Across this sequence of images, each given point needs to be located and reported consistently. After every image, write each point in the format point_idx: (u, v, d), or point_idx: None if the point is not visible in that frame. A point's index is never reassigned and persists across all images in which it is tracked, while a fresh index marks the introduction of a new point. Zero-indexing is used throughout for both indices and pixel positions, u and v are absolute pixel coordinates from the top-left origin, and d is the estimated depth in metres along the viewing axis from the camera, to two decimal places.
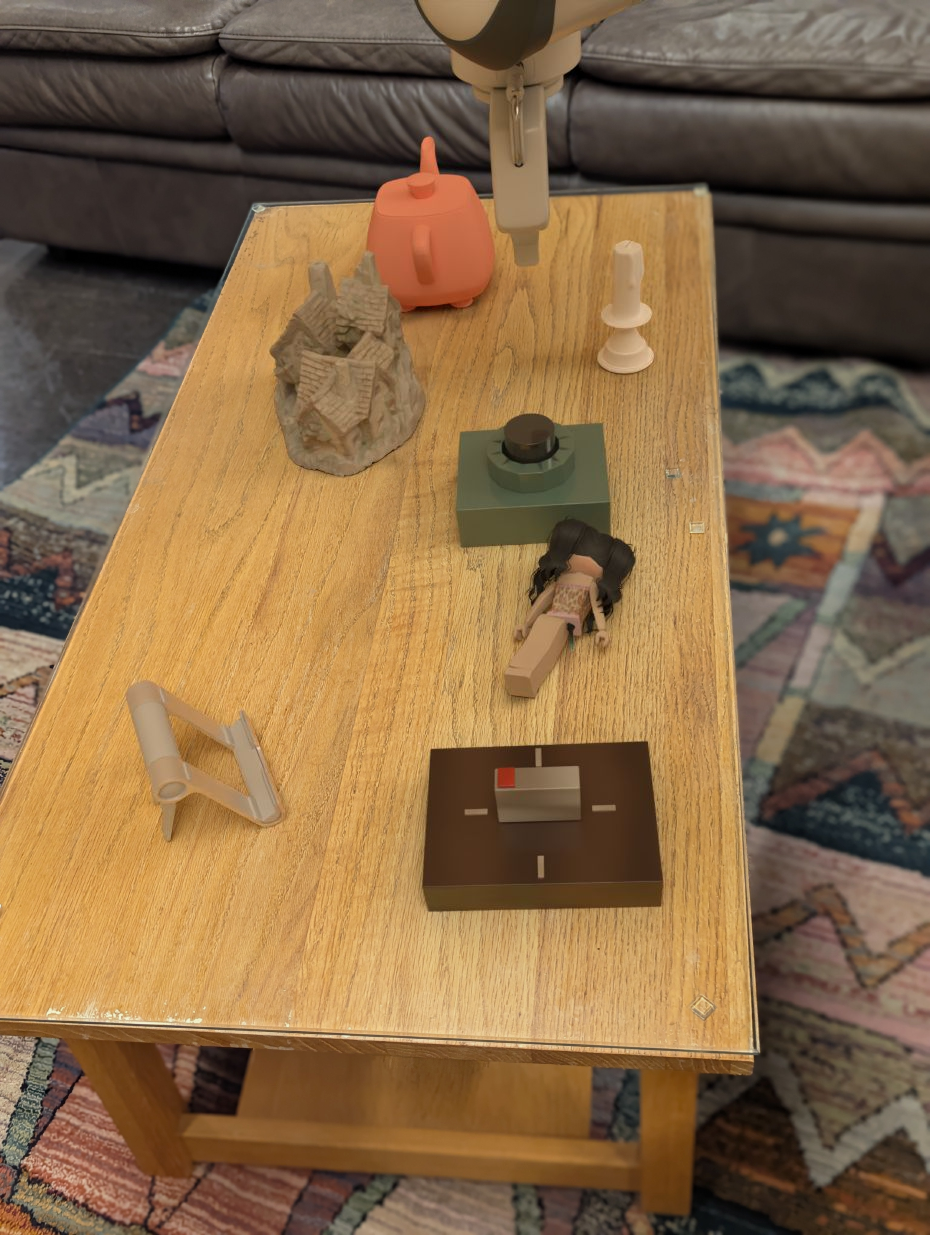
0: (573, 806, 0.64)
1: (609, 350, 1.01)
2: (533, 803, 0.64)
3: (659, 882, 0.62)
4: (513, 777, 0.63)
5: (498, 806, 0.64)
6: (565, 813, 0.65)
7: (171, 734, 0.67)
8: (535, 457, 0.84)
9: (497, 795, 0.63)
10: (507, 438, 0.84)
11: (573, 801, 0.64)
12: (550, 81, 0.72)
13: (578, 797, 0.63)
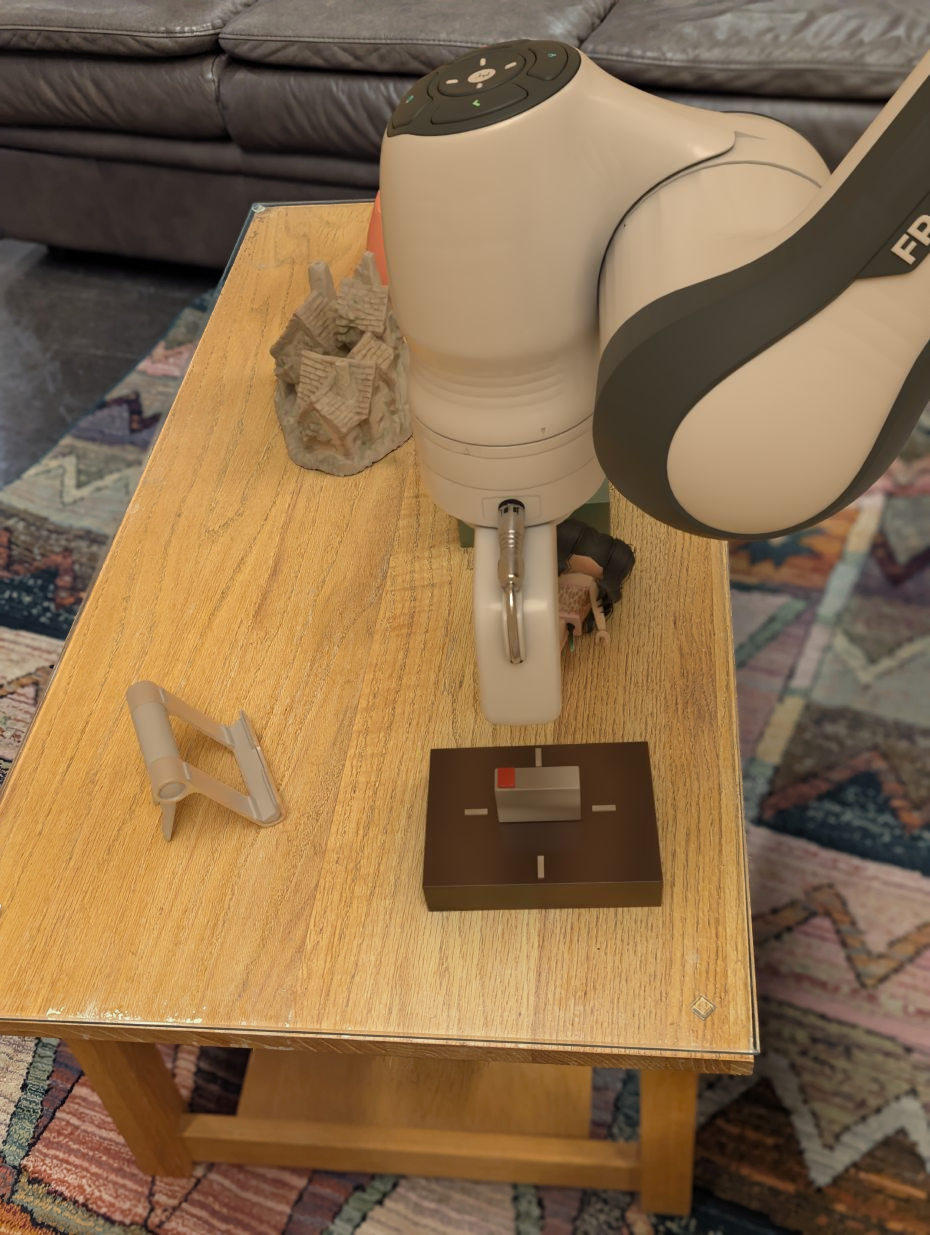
0: (573, 806, 0.64)
1: None
2: (533, 803, 0.64)
3: (659, 882, 0.62)
4: (513, 777, 0.63)
5: (498, 806, 0.64)
6: (565, 813, 0.65)
7: (171, 734, 0.67)
8: None
9: (497, 795, 0.63)
10: None
11: (573, 801, 0.64)
12: None
13: (578, 797, 0.63)
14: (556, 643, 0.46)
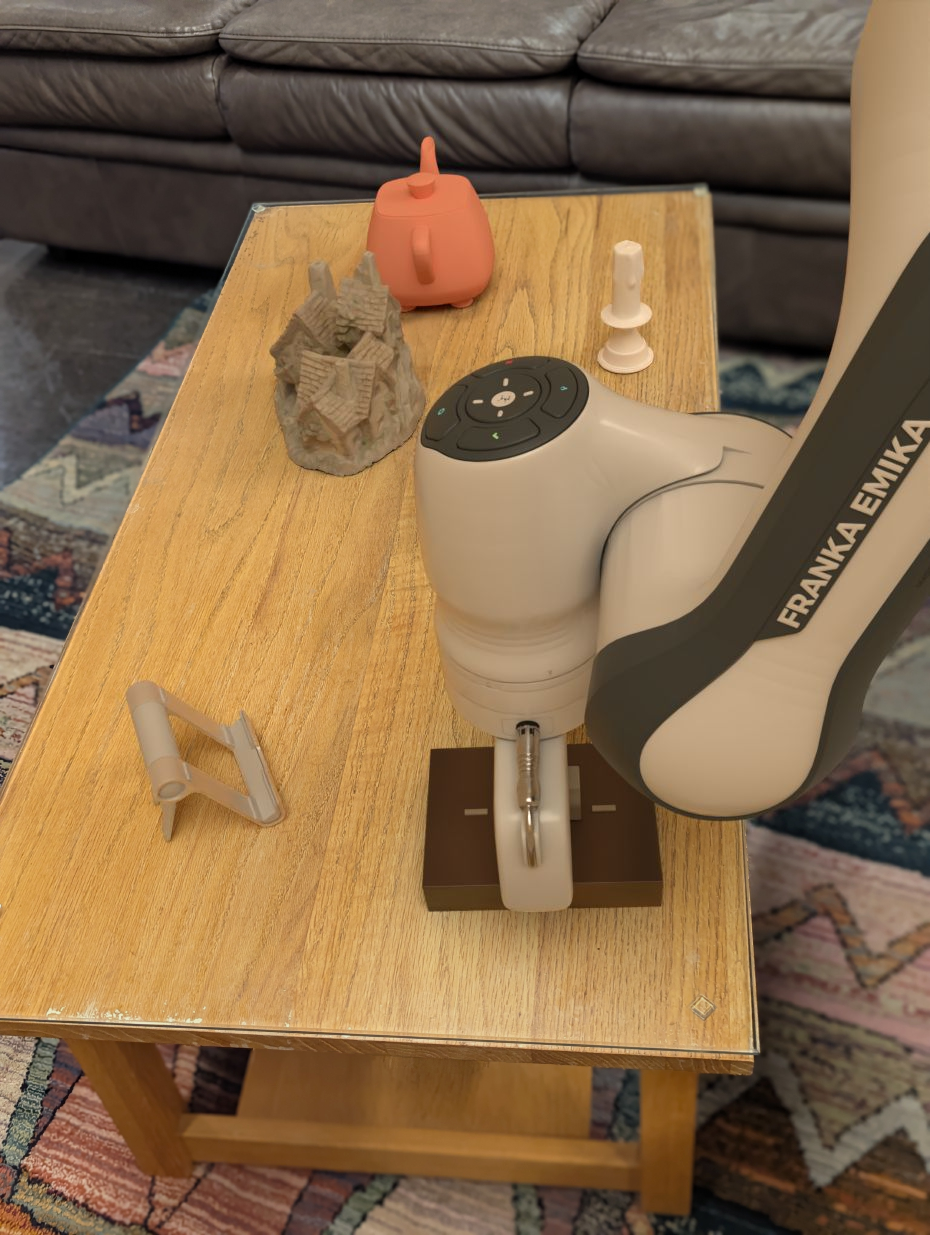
0: (573, 806, 0.64)
1: (609, 350, 1.01)
2: None
3: (659, 882, 0.62)
4: None
5: None
6: None
7: (171, 734, 0.67)
8: None
9: None
10: None
11: (573, 801, 0.64)
12: None
13: (578, 797, 0.63)
14: (568, 850, 0.52)
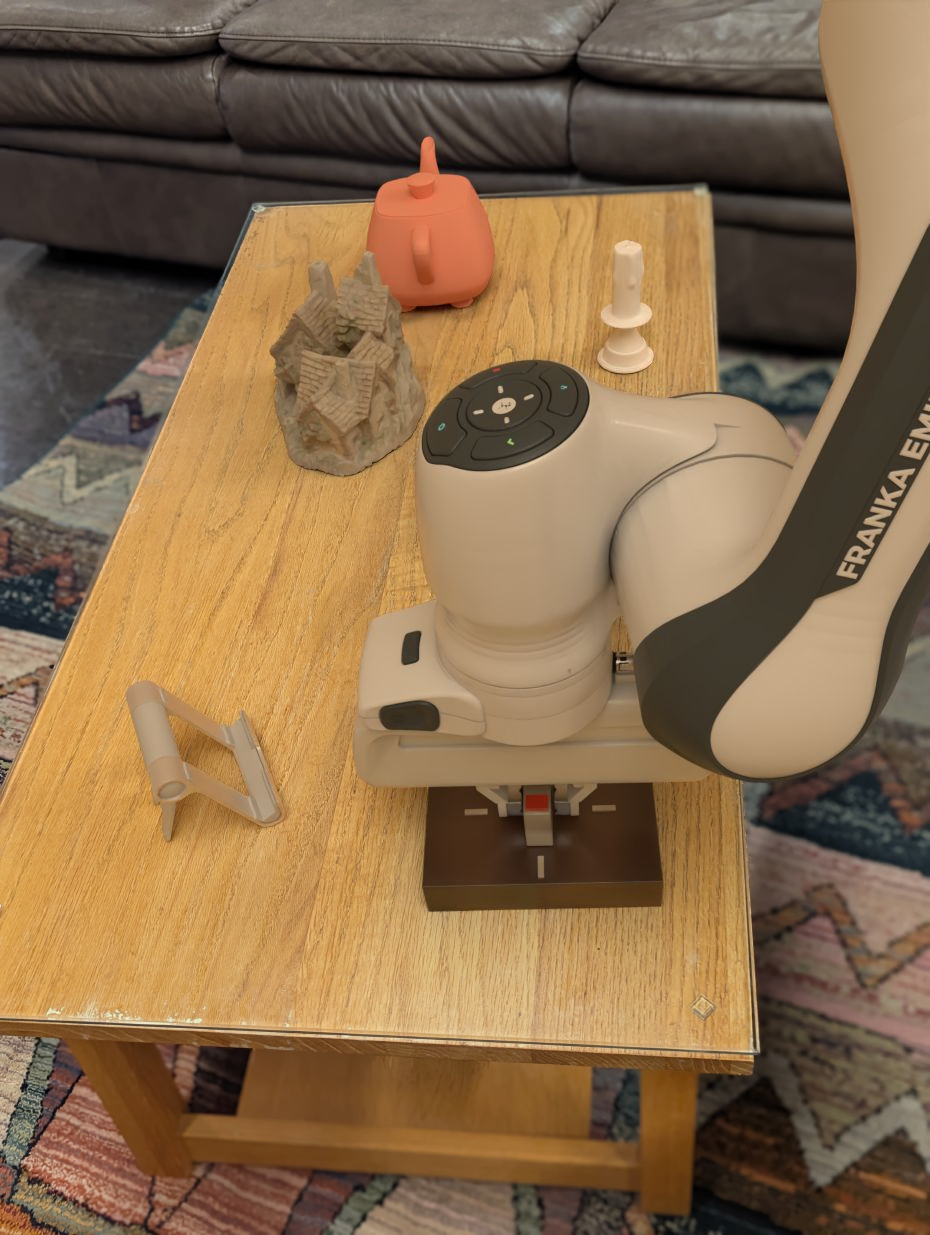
0: None
1: (609, 350, 1.01)
2: (551, 796, 0.64)
3: (659, 882, 0.62)
4: (537, 795, 0.62)
5: (552, 828, 0.63)
6: None
7: (171, 734, 0.67)
8: None
9: (551, 816, 0.62)
10: None
11: None
12: None
13: None
14: None
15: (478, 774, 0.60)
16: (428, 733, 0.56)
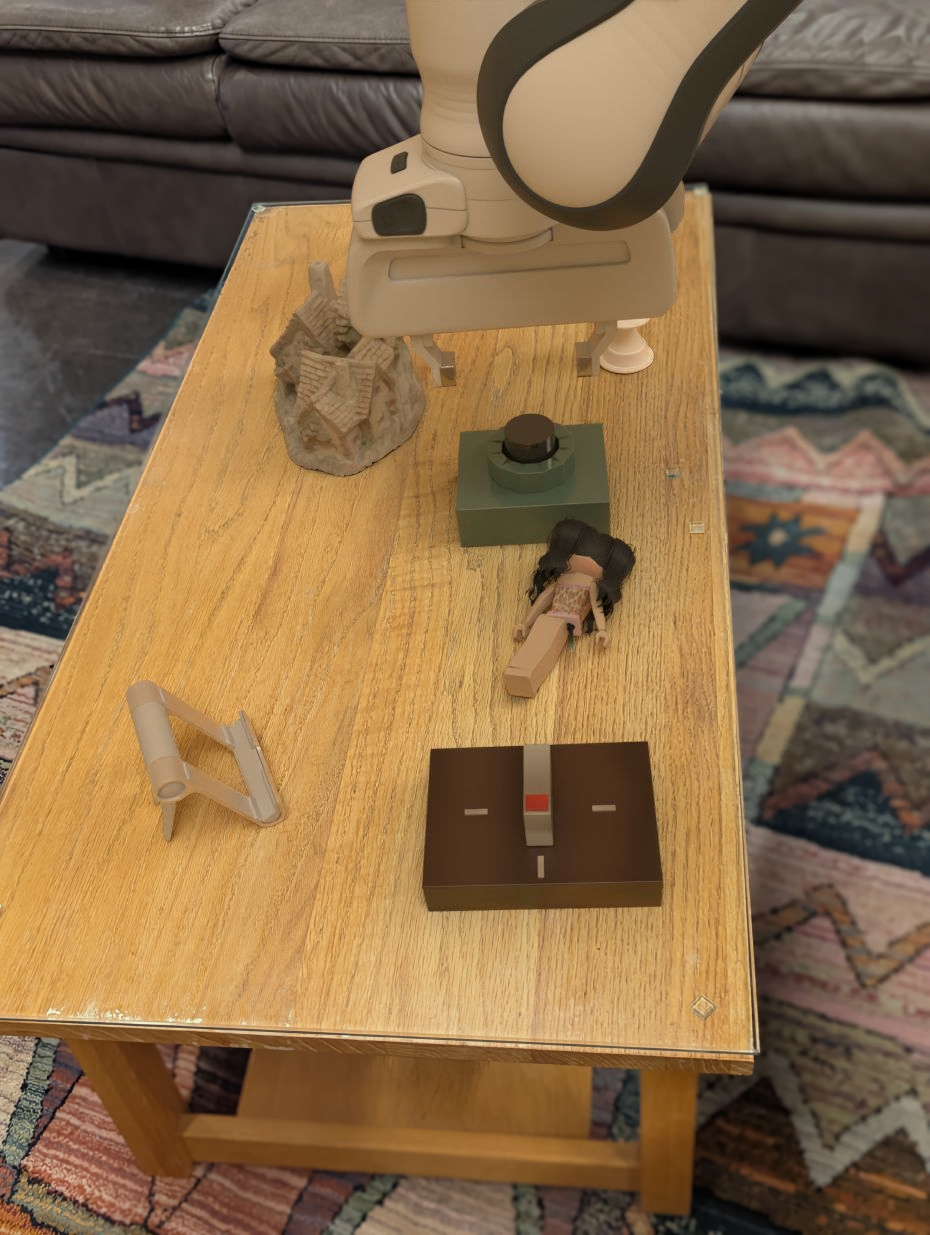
0: None
1: (609, 350, 1.01)
2: (551, 796, 0.64)
3: (659, 882, 0.62)
4: (537, 795, 0.62)
5: (552, 828, 0.63)
6: None
7: (171, 734, 0.67)
8: (535, 457, 0.84)
9: (551, 816, 0.62)
10: (507, 438, 0.84)
11: None
12: None
13: (550, 754, 0.66)
14: None
15: (461, 314, 0.66)
16: (416, 245, 0.62)
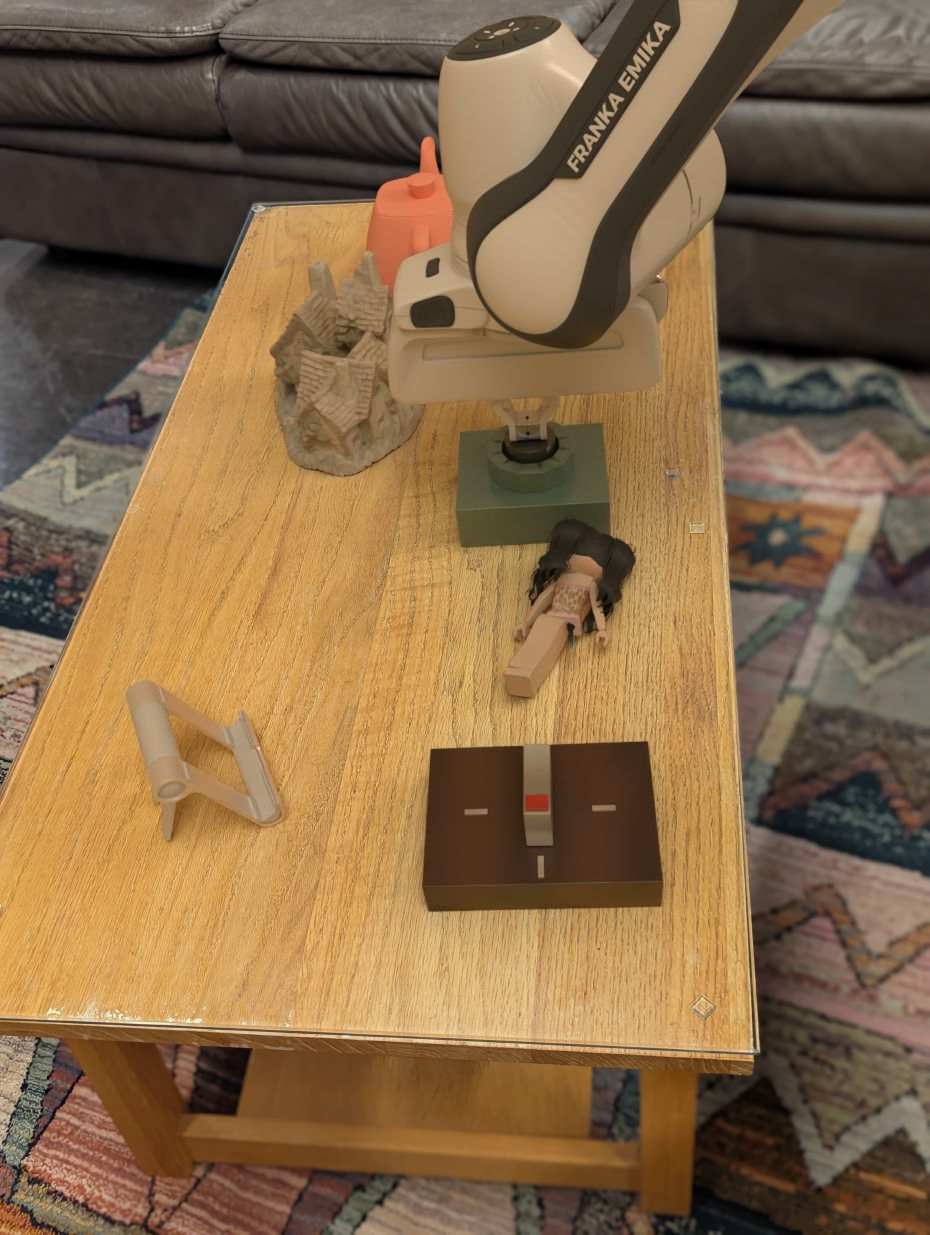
0: None
1: None
2: (551, 796, 0.64)
3: (659, 882, 0.62)
4: (537, 795, 0.62)
5: (552, 828, 0.63)
6: None
7: (171, 734, 0.67)
8: None
9: (551, 816, 0.62)
10: (508, 445, 0.84)
11: None
12: None
13: (550, 754, 0.66)
14: None
15: (482, 387, 0.79)
16: (445, 334, 0.75)
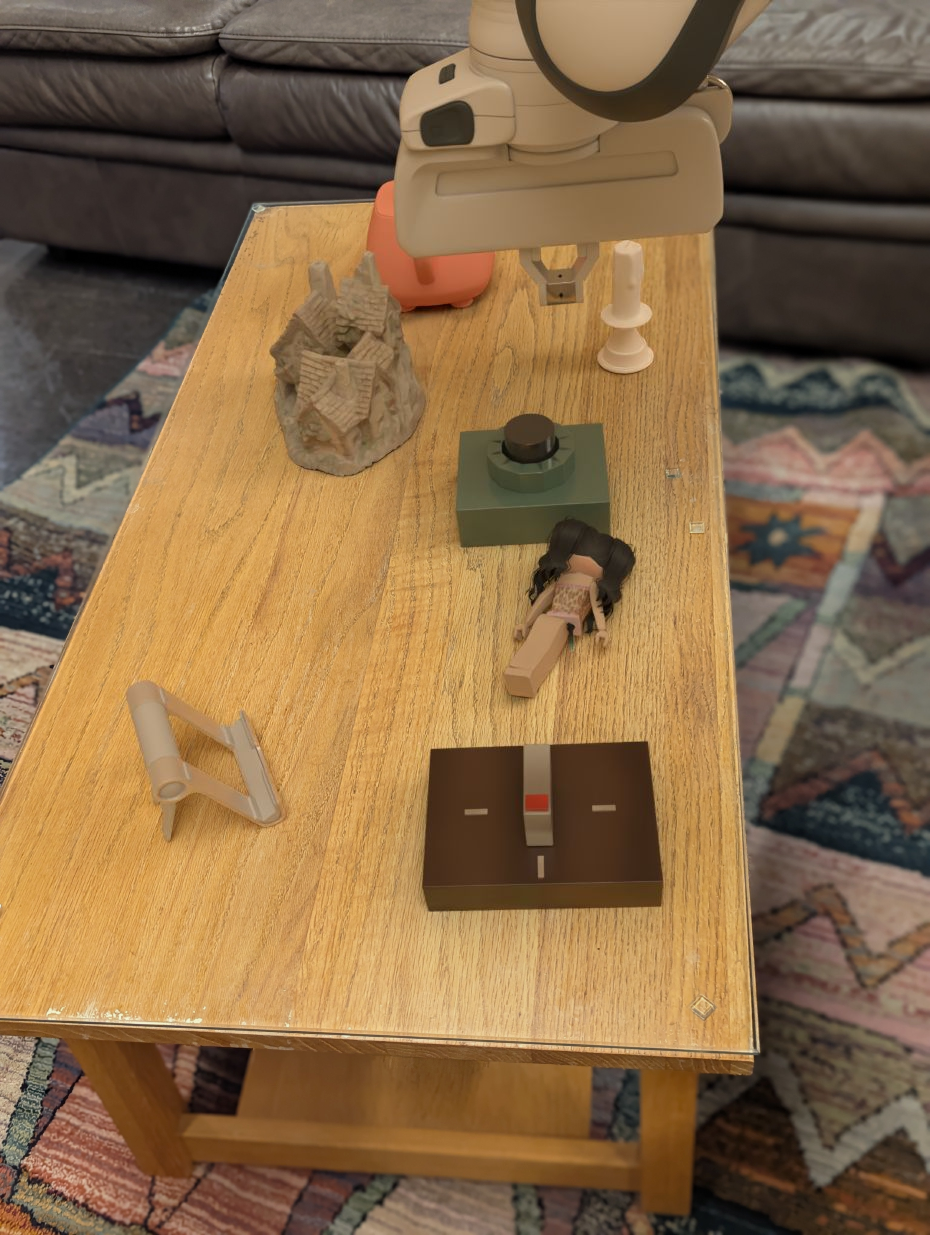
0: None
1: (609, 350, 1.01)
2: (551, 796, 0.64)
3: (659, 882, 0.62)
4: (537, 795, 0.62)
5: (552, 828, 0.63)
6: None
7: (171, 734, 0.67)
8: (535, 457, 0.84)
9: (551, 816, 0.62)
10: (507, 438, 0.84)
11: None
12: None
13: (550, 754, 0.66)
14: None
15: (507, 231, 0.66)
16: (463, 157, 0.62)
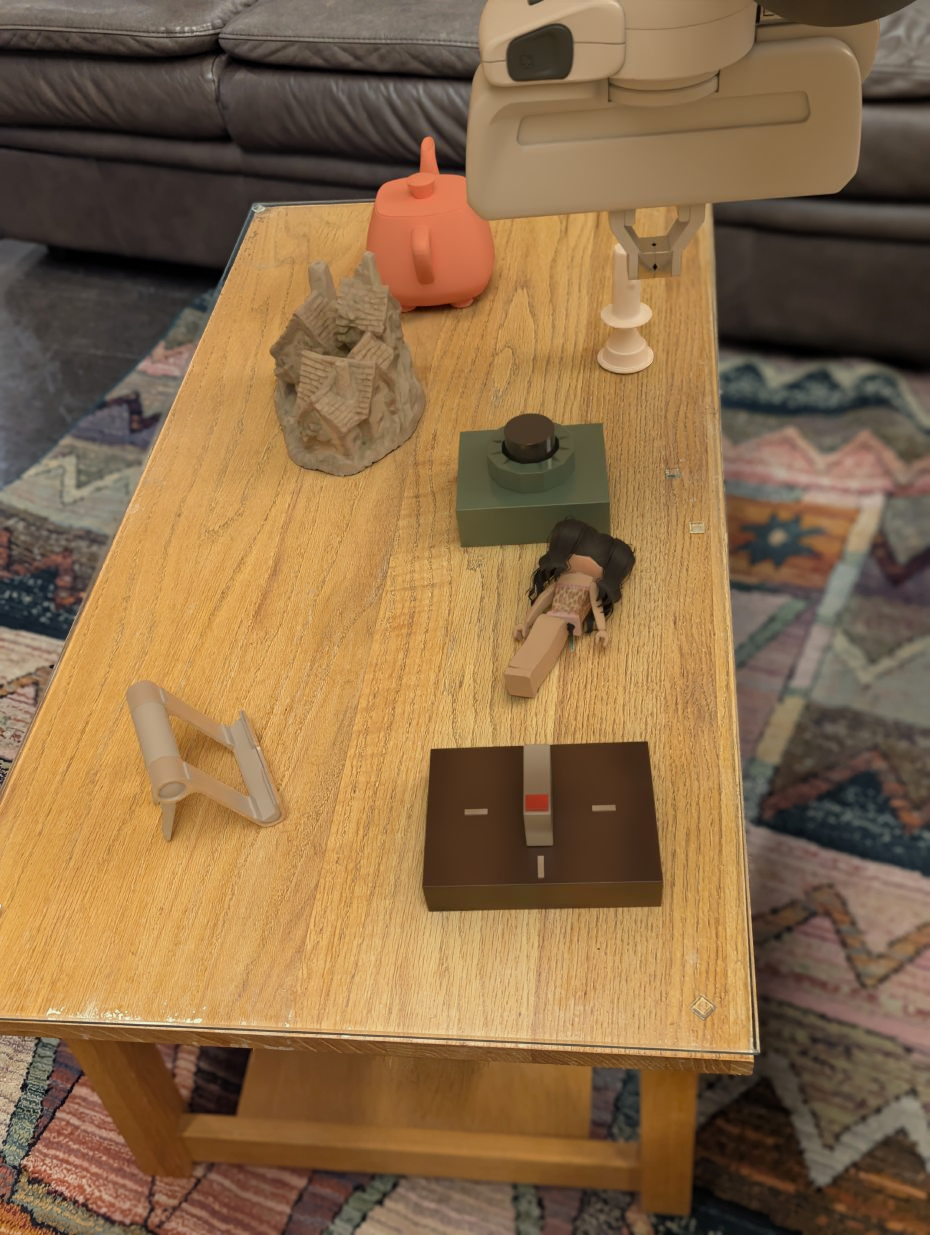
0: None
1: (609, 350, 1.01)
2: (551, 796, 0.64)
3: (659, 882, 0.62)
4: (537, 795, 0.62)
5: (552, 828, 0.63)
6: None
7: (171, 734, 0.67)
8: (535, 457, 0.84)
9: (551, 816, 0.62)
10: (507, 438, 0.84)
11: None
12: None
13: (550, 754, 0.66)
14: None
15: (599, 188, 0.56)
16: (555, 95, 0.52)
